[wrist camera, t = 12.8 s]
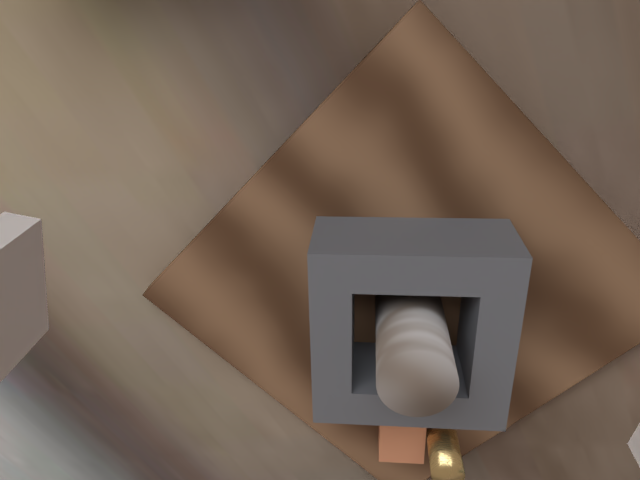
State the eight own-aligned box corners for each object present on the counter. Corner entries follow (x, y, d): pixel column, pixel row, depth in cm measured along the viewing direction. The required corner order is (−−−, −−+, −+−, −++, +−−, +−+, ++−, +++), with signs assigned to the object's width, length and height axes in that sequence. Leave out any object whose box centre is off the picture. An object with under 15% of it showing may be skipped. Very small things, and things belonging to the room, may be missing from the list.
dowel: (440, 400, 37) (449, 458, 32) (460, 417, 37) (472, 476, 33) (417, 415, 38) (423, 474, 33) (437, 432, 38) (446, 492, 34)
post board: (418, 0, 28) (438, 5, 20) (688, 295, 33) (792, 397, 25) (149, 285, 36) (83, 374, 28) (398, 483, 42) (405, 605, 34)
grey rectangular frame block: (316, 216, 32) (307, 253, 28) (509, 218, 31) (532, 258, 27) (322, 436, 39) (315, 495, 35) (479, 444, 38) (493, 506, 34)
